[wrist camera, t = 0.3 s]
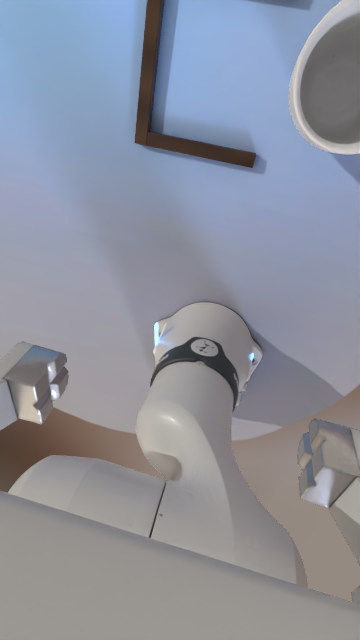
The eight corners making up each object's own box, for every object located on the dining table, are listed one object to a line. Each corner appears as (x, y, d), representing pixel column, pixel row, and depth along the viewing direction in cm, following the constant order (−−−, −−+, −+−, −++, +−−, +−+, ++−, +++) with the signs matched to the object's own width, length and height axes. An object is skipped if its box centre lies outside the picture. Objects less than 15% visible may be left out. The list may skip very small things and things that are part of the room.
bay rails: (252, 167, 42) (252, 167, 41) (137, 142, 44) (134, 143, 43) (301, -22, 33) (303, -27, 32) (154, -43, 35) (151, -49, 34)
